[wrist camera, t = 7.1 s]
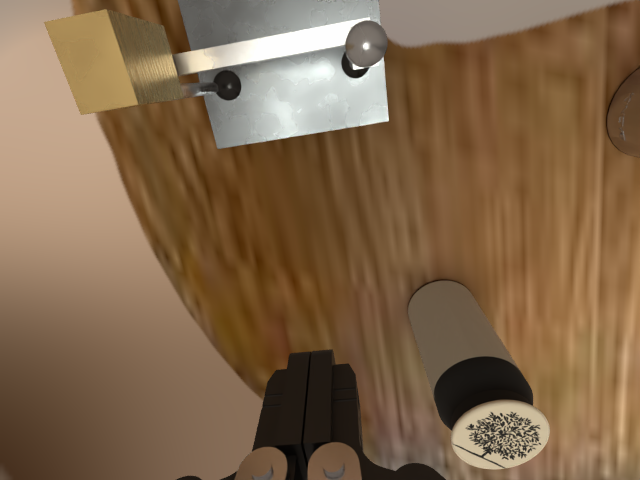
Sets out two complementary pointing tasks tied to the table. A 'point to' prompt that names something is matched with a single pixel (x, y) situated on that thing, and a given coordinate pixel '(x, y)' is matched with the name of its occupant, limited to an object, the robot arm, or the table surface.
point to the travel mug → (475, 380)
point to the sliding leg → (118, 62)
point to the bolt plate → (286, 65)
